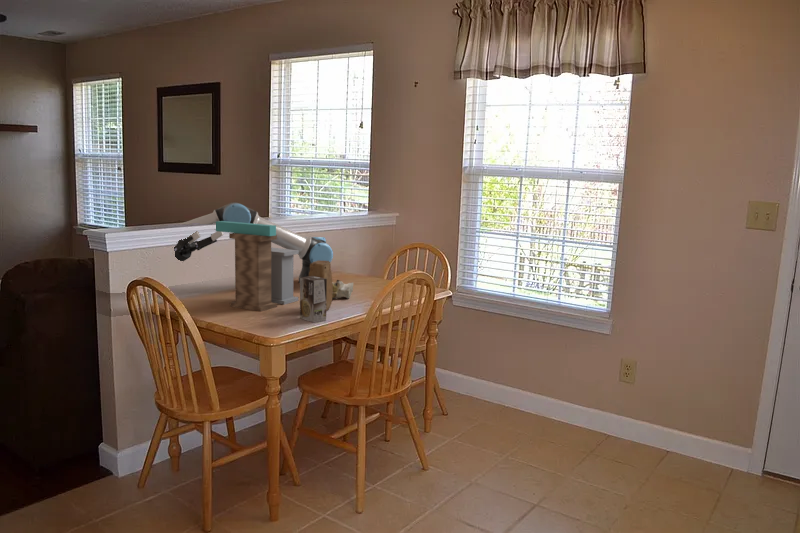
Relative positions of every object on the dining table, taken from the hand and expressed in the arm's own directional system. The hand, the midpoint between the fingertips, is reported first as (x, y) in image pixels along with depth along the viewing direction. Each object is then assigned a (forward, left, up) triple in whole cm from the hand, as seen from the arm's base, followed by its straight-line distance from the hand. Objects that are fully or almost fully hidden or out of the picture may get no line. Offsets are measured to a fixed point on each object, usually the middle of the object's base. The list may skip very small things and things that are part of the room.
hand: (210, 232), depth 261 cm
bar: (-13, +14, +1) cm, 19 cm away
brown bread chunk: (-42, +27, -29) cm, 58 cm away
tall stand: (-16, +17, -29) cm, 37 cm away
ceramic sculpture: (-53, +6, -29) cm, 61 cm away
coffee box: (-36, +43, -29) cm, 63 cm away
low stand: (-27, +6, -29) cm, 40 cm away
